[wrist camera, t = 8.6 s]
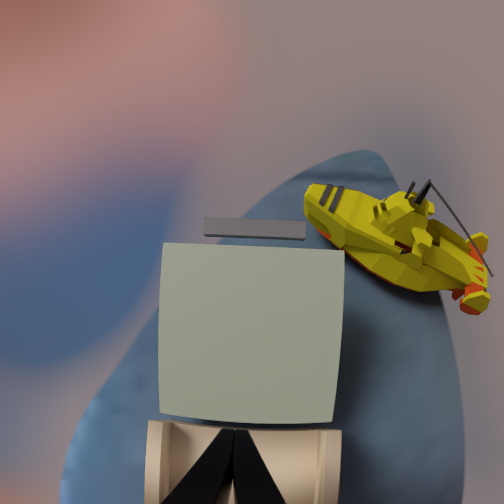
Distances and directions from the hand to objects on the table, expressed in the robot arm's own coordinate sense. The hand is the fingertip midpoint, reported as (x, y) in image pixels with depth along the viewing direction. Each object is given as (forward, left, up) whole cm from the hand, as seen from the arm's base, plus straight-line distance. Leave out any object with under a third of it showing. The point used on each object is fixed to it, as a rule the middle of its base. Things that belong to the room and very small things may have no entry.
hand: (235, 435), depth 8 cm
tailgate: (+1, 0, -8) cm, 8 cm away
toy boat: (+13, -12, -10) cm, 20 cm away
